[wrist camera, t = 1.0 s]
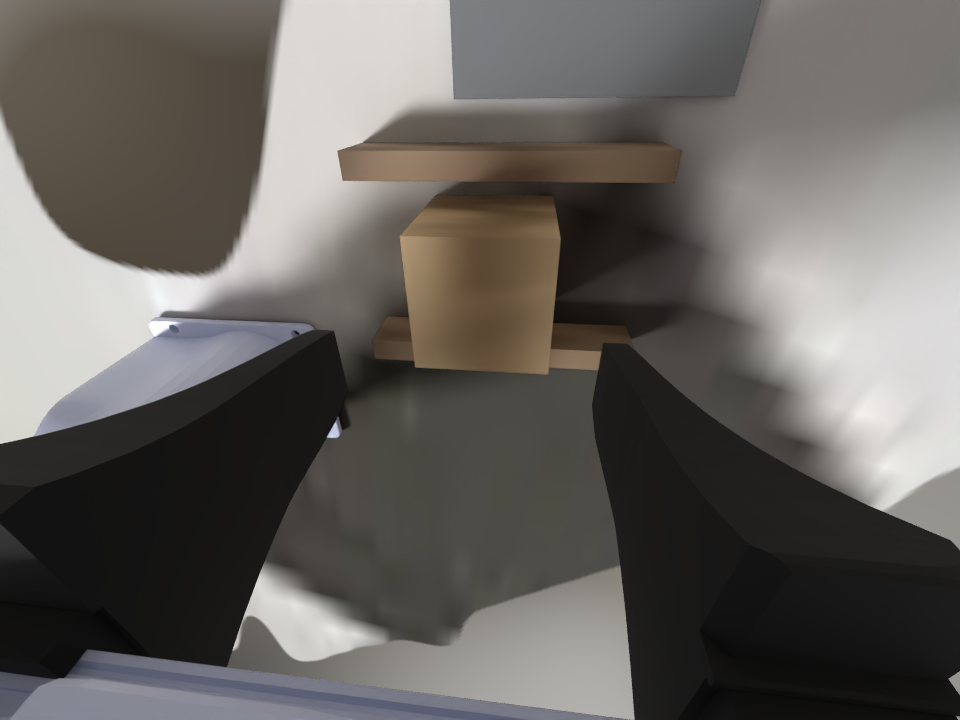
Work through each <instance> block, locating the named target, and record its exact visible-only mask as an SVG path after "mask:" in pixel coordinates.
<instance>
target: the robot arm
mask: <svg viewBox="0 0 960 720" xmlns="http://www.w3.org/2000/svg"><path fill="white" fill-rule="evenodd" d="M149 327H150V329H151V331H152V333H153V335H154V338H152V339H151V340H149V341H148V342H146V343H145V344H143V345H142V346H140V347H139V348H137V349H136V350H134V351H133V352H131V353H130V354H128V355H127V356H125V357H124V358H122V359H121V360H119V361H117V362H116V363H114V364H113V365H111V366H110V367H108V368H107V369H105V370H104V371H102V372H101V373H99V374H98V375H96V376H95V377H93V378H92V379H90V380H89V381H87V382H86V383H84V384H83V385H81V386H80V387H78V388H77V389H75V390H74V391H72V392H71V393H69V394H68V395H66V396H65V397H64V398H62V399H61V400H60V401H59V402H57V403H56V404H55V405H54V406H53V407H52V408H51V409H50V411H49V412H48V413H47V414H46V416H45V417H44V419H43V420H42V422H41V423H40V425H39V427H38V429H37V431H36V433H35V436H34V437H30V438H26V439H21V440H17V441H13V442H8V443H3V444H0V720H628V719H620V718H613V717H605V716H597V715H589V714H582V713H574V712H566V711H559V710H551V709H543V708H535V707H528V706H520V705H512V704H505V703H497V702H488V701H482V700H474V699H466V698H458V697H451V696H443V695H435V694H427V693H420V692H412V691H404V690H397V689H389V688H381V687H374V686H366V685H358V684H350V683H343V682H335V681H327V680H320V679H311V678H304V677H296V676H289V675H281V674H274V673H266V672H258V671H250V670H243V669H234V668H227V665H228V662H229V659H230V655H231V653H232V650H233V647H234V644H235V641H236V638H237V635H238V632H239V629H240V626H241V623H242V620H243V617H244V614H245V611H246V608H247V606H248V603H249V600H250V598H251V595H252V592H253V590H254V587H255V584H256V582H257V579H258V576H259V573H260V571H261V568H262V566H263V564H264V561H265V559H266V556H267V554H268V551H269V549H270V547H271V544H272V542H273V539H274V537H275V534H276V532H277V530H278V528H279V525H280V523H281V521H282V519H283V516H284V514H285V512H286V510H287V507H288V505H289V503H290V501H291V499H292V497H293V495H294V493H295V491H296V490H297V488H298V486H299V484H300V482H301V481H302V479H303V477H304V476H305V474H306V472H307V470H308V469H309V467H310V465H311V464H312V462H313V460H314V458H315V457H316V455H317V453H318V452H319V450H320V448H321V447H322V445H323V443H324V441H325V440H326V438H327V437H329V438H337V437H339V435H340V434H341V432H342V428H341V424H340V421H339V417H338V415H339V413H340V410H341V408H342V405H343V403H344V400H345V397H346V394H347V392H348V389H347V384H346V380H345V376H344V372H343V368H342V363H341V359H340V355H339V351H338V346H337V342H336V338H335V334H334V331H327V330H315V329H314V328H313V327H312V326H311V325H309V324H304V323H280V322H257V321H234V320H210V319H187V318H164V317H157V318H154V319H152V320H151V321H150V322H149ZM176 327H177V328H176ZM294 330H295V331H297V332H299V334H300V335H297V334H296V333H295V331H294ZM592 409H593V421H594V431H595V439H596V444H597V448H598V452H599V457H600V461H601V465H602V470H603V474H604V478H605V482H606V486H607V491H608V495H609V499H610V503H611V508H612V512H613V517H614V522H615V528H616V534H617V542H618V550H619V558H620V566H621V575H622V584H623V593H624V602H625V611H626V621H627V633H628V642H629V654H630V665H631V678H632V689H633V702H634V703H633V704H634V716H635V720H958V719H957V717H956V716H960V695H959V694H958V692H957V691H956V689H955V688H954V687H953V685H952V684H951V682H950V681H949V678H950V677H951V676H953V675H955V674H956V673H957V672H959V671H960V550H959V549H958V548H957V547H956V546H955V544H954V543H952V541H950V540H948V539H946V538H943V537H941V536H939V535H937V534H934V533H932V532H929V531H927V530H925V529H922V528H920V527H917V526H915V525H913V524H911V523H908V522H906V521H903V520H901V519H899V518H896V517H894V516H892V515H889V514H887V513H885V512H882V511H880V510H878V509H875V508H873V507H870V506H868V505H866V504H864V503H862V502H860V501H858V500H855V499H853V498H851V497H849V496H847V495H845V494H843V493H841V492H839V491H837V490H835V489H833V488H831V487H829V486H827V485H824V484H822V483H820V482H818V481H817V480H815V479H813V478H811V477H809V476H807V475H805V474H803V473H801V472H799V471H797V470H796V469H794V468H792V467H790V466H788V465H787V464H785V463H783V462H781V461H780V460H778V459H776V458H774V457H773V456H771V455H769V454H767V453H766V452H764V451H762V450H761V449H759V448H757V447H756V446H754V445H752V444H751V443H749V442H748V441H746V440H744V439H743V438H742V437H740V436H739V435H737V434H736V433H734V432H733V431H731V430H730V429H728V428H727V427H725V426H724V425H722V424H721V423H719V422H718V421H717V420H715V419H714V418H712V417H711V416H710V415H708V414H707V413H706V412H704V411H703V410H702V409H701V408H699V407H698V406H697V405H696V404H694V403H693V402H692V401H691V400H689V399H688V398H687V397H686V396H684V395H683V394H682V393H681V392H680V391H678V390H677V389H676V388H675V387H674V386H673V385H672V384H670V383H669V382H668V381H667V380H666V379H665V378H664V377H663V376H662V375H661V374H659V373H658V372H657V371H656V370H655V369H654V368H653V367H652V366H651V365H650V364H649V363H648V362H647V361H646V360H645V359H644V358H643V357H642V356H640V355H639V354H638V353H637V352H636V351H635V350H634V349H633V348H632V347H631V346H630V345H629V344H624V343H603V345H602V351H601V357H600V363H599V368H598V374H597V380H596V385H595V391H594V397H593V403H592Z"/></svg>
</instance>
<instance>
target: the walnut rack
mask: <svg viewBox="0 0 960 720" xmlns="http://www.w3.org/2000/svg"><path fill="white" fill-rule="evenodd" d="M681 154H682V151H681V150H679V149H676V148H674V147H672V146H670V145H667V144H665V143H360V144H357V145H354V146H351V147H348V148H345V149H342V150H339V151H338V157H339V162H340V168H341V173H342V179H343V181H465V182H601V183H675V180H676V176H677V172H678V167H679V163H680V159H681ZM603 343H624V344H629V345H630V346H631V347H632V348H633V349H634V347H633V344H632V342H631V339H630V336H629V334H628V331H627V328H626V326H617V325H592V324H567V323H553V327H552V337H551V348H550V358H549V368H568V369H588V370H598V368H599V363H600V357H601V351H602V345H603ZM372 344H373V350H374V355H375V359H390V360H410V361H414V354H413V345H412V337H411V329H410V320H409V317H393V316H387V318H386V319H385V321H384V323H383V324H382V326H381V327H380V329H379V330H378V332H377V334H376V335H375V337H374V338H373V340H372Z"/></svg>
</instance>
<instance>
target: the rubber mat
mask: <svg viewBox="0 0 960 720" xmlns="http://www.w3.org/2000/svg"><path fill="white" fill-rule="evenodd" d="M760 2H761V0H450V16H451V41H452V66H453V91H454V99H516V98H597V97H679V96H735V93H736V90H737V86H738V82H739V79H740V75H741V71H742V68H743V64H744V60H745V57H746V53H747V49H748V46H749V42H750V39H751V35H752V31H753V28H754V24H755V20H756V17H757V13H758V9H759V6H760Z"/></svg>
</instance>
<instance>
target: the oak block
mask: <svg viewBox="0 0 960 720" xmlns="http://www.w3.org/2000/svg"><path fill="white" fill-rule="evenodd" d="M399 237H400V245H401V253H402V262H403V270H404V278H405V287H406V295H407V303H408V312H409V320H410V329H411V337H412V345H413V354H414V362H415V367H416V368H435V369H454V370H474V371H493V372H512V373H531V374H548V369H549V358H550V348H551V337H552V327H553V316H554V306H555V295H556V285H557V274H558V264H559V253H560V243H561V238H560V232H559V226H558V220H557V214H556V209H555V203H554V197H553V196H511V195H436V196H435V197H434V198H433V199H432V200H431V201H430V203H429V204H428V205H427V206H426V207H425V208H424V209H423V210H422V211H421V213H420V214H419V215H418V216H417V217H416V218H415V219H414V220H413V222H412V223H411V224H410V225H409V226H408V227H407V228H406V229H405V230H404V232H403V233H402V234H401V235H400V236H399Z"/></svg>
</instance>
